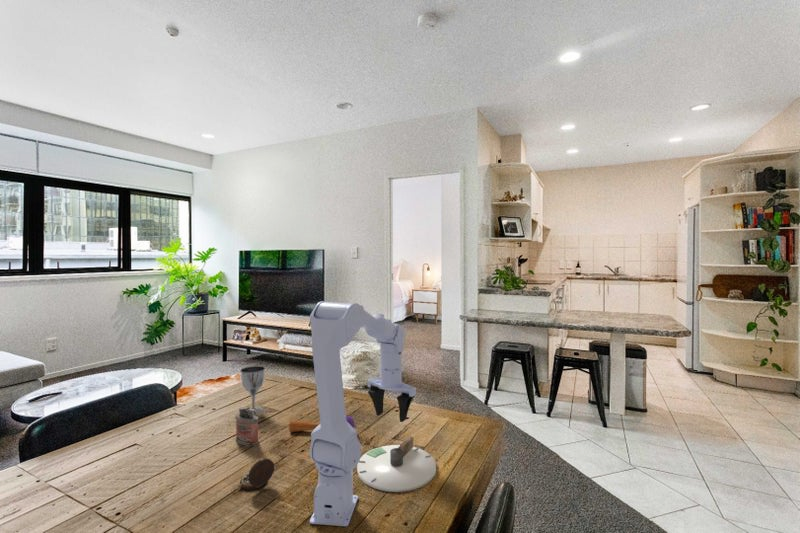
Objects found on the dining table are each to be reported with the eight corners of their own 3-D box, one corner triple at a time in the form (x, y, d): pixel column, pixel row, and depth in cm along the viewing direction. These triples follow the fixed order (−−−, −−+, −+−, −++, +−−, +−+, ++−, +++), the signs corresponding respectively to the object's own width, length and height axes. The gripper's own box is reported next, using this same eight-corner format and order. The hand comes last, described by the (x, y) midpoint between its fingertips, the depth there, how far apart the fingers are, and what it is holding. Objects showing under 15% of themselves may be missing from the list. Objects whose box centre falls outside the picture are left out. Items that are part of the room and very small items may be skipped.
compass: (259, 472, 96) (258, 444, 96) (275, 485, 91) (275, 455, 91) (226, 487, 90) (226, 456, 90) (242, 501, 85) (242, 469, 85)
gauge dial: (435, 494, 87) (435, 489, 87) (348, 488, 89) (348, 483, 89) (436, 450, 107) (436, 446, 107) (366, 446, 109) (366, 442, 109)
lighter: (232, 441, 112) (232, 407, 112) (242, 436, 115) (242, 403, 115) (252, 447, 109) (251, 412, 108) (261, 442, 112) (261, 408, 111)
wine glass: (240, 409, 136) (240, 367, 135) (264, 405, 139) (263, 364, 139) (241, 418, 129) (241, 373, 128) (266, 413, 132) (266, 370, 132)
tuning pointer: (399, 467, 96) (399, 455, 96) (388, 464, 97) (388, 452, 97) (416, 448, 105) (416, 437, 105) (406, 445, 107) (406, 435, 107)
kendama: (295, 414, 122) (356, 412, 120) (295, 434, 121) (356, 433, 119) (287, 418, 117) (350, 417, 114) (287, 439, 116) (351, 438, 113)
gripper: (421, 368, 104) (421, 417, 104) (377, 360, 111) (378, 406, 112) (408, 374, 98) (408, 427, 98) (362, 366, 105) (363, 415, 106)
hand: (391, 417), depth 104 cm, fingers open, 7 cm apart
